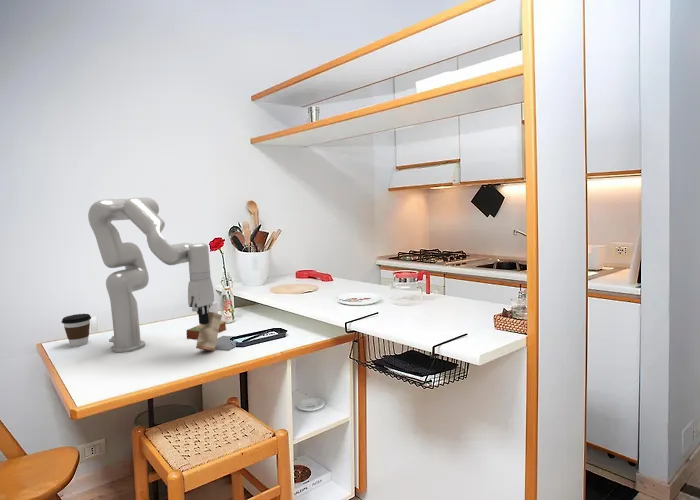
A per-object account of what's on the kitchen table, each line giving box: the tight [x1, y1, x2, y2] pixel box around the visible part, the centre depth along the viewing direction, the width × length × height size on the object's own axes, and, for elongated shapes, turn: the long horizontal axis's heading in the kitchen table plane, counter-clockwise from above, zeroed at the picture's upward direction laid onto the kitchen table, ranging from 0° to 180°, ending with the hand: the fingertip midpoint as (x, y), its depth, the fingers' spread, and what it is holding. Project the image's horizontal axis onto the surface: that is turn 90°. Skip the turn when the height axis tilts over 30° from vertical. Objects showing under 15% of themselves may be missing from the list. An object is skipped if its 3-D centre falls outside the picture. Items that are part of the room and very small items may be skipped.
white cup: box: [209, 300, 219, 314], centre depth 225 cm, size 8×8×10 cm
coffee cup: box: [60, 313, 92, 347], centre depth 199 cm, size 11×11×12 cm
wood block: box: [195, 312, 222, 352], centre depth 183 cm, size 5×5×14 cm
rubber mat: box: [215, 335, 236, 352], centre depth 192 cm, size 14×16×1 cm
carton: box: [186, 320, 227, 340], centre depth 207 cm, size 8×16×4 cm, turn 156°
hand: (204, 323), depth 180 cm, fingers closed
